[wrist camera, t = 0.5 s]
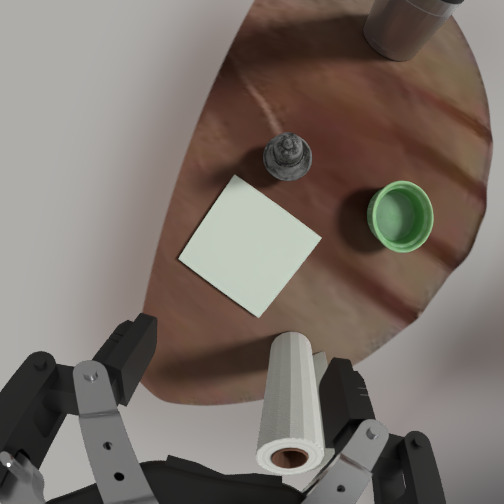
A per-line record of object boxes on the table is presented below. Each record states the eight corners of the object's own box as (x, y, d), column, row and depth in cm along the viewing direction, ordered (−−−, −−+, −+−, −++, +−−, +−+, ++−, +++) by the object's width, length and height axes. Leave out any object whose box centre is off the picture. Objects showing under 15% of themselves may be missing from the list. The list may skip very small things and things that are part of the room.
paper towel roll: (262, 349, 41) (240, 459, 20) (290, 322, 39) (289, 430, 18) (296, 375, 41) (297, 486, 20) (324, 350, 39) (346, 460, 19)
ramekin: (424, 193, 34) (439, 193, 30) (410, 253, 36) (424, 259, 31) (370, 174, 35) (380, 171, 30) (356, 238, 36) (364, 243, 32)
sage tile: (235, 175, 37) (234, 174, 36) (320, 237, 37) (321, 237, 36) (180, 257, 40) (178, 258, 39) (259, 315, 40) (258, 317, 39)
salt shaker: (257, 169, 36) (243, 153, 24) (279, 132, 35) (275, 101, 23) (295, 191, 36) (300, 185, 24) (317, 154, 35) (331, 132, 23)
